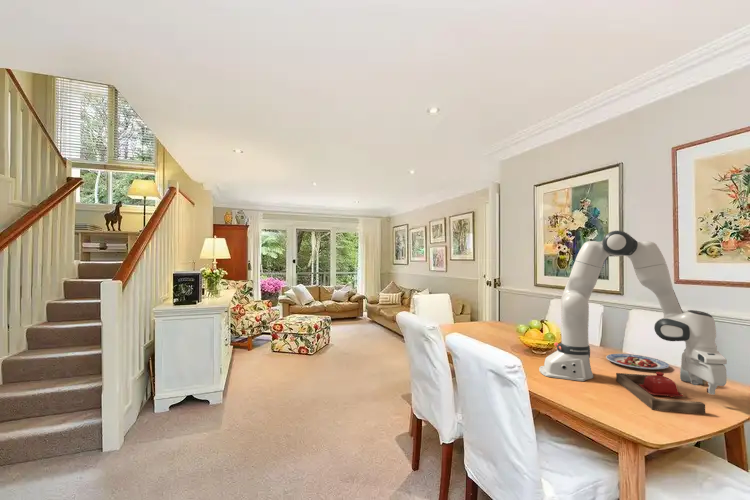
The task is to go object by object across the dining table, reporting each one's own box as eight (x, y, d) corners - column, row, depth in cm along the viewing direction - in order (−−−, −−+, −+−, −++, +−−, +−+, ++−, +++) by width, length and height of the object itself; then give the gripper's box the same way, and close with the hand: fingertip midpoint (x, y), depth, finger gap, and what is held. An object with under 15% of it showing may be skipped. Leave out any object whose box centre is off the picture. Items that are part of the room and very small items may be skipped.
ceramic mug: (705, 387, 146) (705, 368, 146) (679, 382, 152) (679, 364, 152) (708, 381, 153) (707, 364, 153) (683, 376, 159) (683, 360, 159)
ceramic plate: (620, 355, 195) (620, 349, 195) (678, 367, 173) (678, 361, 173) (596, 362, 182) (596, 356, 182) (655, 376, 159) (655, 370, 159)
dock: (652, 409, 125) (652, 399, 125) (616, 380, 154) (616, 372, 154) (705, 414, 121) (705, 404, 121) (658, 383, 150) (658, 375, 150)
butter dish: (637, 386, 148) (636, 366, 148) (669, 389, 145) (668, 368, 145) (650, 397, 137) (650, 375, 137) (685, 400, 133) (685, 378, 134)
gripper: (675, 346, 145) (676, 379, 144) (708, 360, 125) (710, 398, 124) (693, 346, 143) (695, 380, 143) (730, 361, 123) (732, 400, 123)
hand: (702, 389), depth 133 cm, fingers open, 8 cm apart
